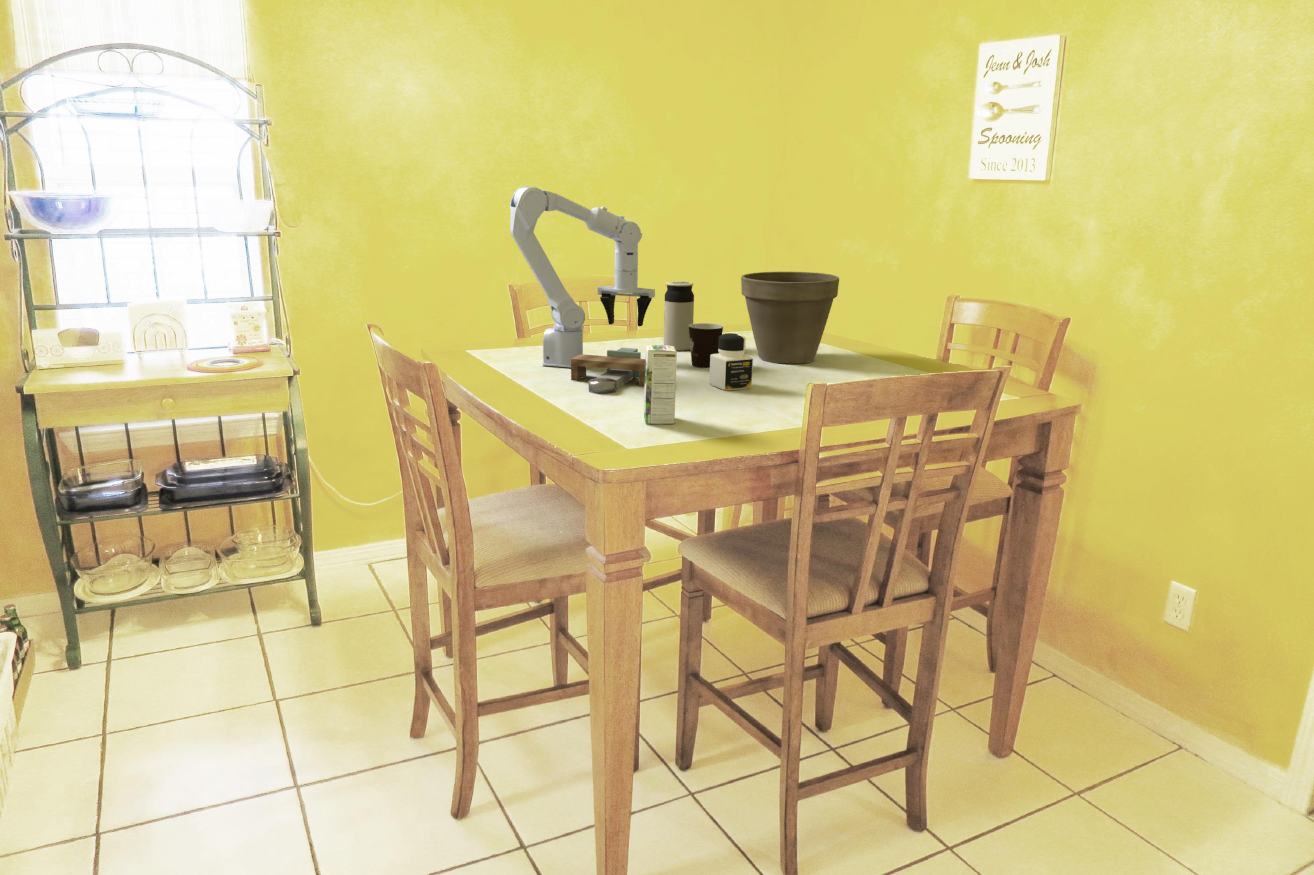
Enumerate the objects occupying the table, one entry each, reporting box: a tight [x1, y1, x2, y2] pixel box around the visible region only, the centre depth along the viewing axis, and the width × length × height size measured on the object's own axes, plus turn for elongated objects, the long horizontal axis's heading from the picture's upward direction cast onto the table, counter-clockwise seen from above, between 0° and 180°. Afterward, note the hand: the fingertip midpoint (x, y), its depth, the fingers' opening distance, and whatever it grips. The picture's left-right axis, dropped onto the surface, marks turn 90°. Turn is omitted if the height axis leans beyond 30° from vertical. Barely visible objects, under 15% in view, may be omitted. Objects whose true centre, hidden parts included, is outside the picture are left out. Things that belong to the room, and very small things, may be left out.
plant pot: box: [740, 271, 840, 365], centre depth 237 cm, size 25×25×22 cm
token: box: [588, 377, 617, 395], centre depth 201 cm, size 6×6×2 cm
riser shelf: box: [570, 353, 646, 387], centre depth 210 cm, size 18×6×5 cm, turn 74°
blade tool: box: [596, 347, 642, 390], centre depth 211 cm, size 8×17×6 cm, turn 164°
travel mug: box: [663, 280, 695, 352], centre depth 248 cm, size 8×8×18 cm
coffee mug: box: [689, 322, 724, 369], centre depth 230 cm, size 12×9×10 cm
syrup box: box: [643, 344, 678, 425], centre depth 176 cm, size 6×6×14 cm
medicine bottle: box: [708, 332, 754, 392], centre depth 206 cm, size 7×7×12 cm
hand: (625, 324), depth 230 cm, fingers open, 7 cm apart
